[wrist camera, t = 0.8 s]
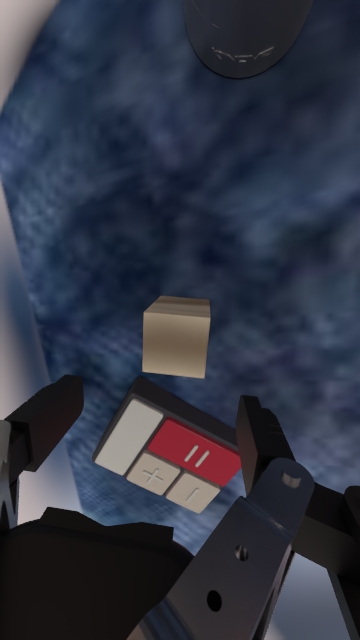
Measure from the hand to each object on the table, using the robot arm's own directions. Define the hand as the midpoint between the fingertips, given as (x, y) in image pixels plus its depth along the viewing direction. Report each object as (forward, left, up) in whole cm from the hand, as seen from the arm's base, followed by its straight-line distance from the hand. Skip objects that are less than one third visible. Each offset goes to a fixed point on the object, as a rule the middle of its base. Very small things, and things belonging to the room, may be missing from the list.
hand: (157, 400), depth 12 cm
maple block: (0, 0, -14) cm, 14 cm away
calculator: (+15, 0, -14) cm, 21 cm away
